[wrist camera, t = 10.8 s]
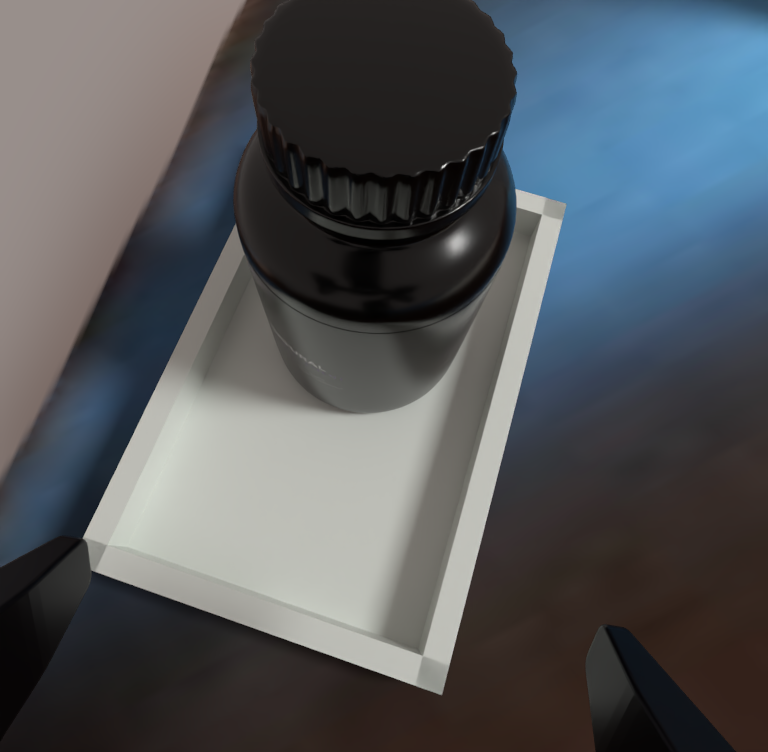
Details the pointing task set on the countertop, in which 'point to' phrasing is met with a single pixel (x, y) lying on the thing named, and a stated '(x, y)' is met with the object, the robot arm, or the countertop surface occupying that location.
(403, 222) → the supplement bottle
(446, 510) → the tray
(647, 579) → the countertop surface
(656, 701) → the robot arm
